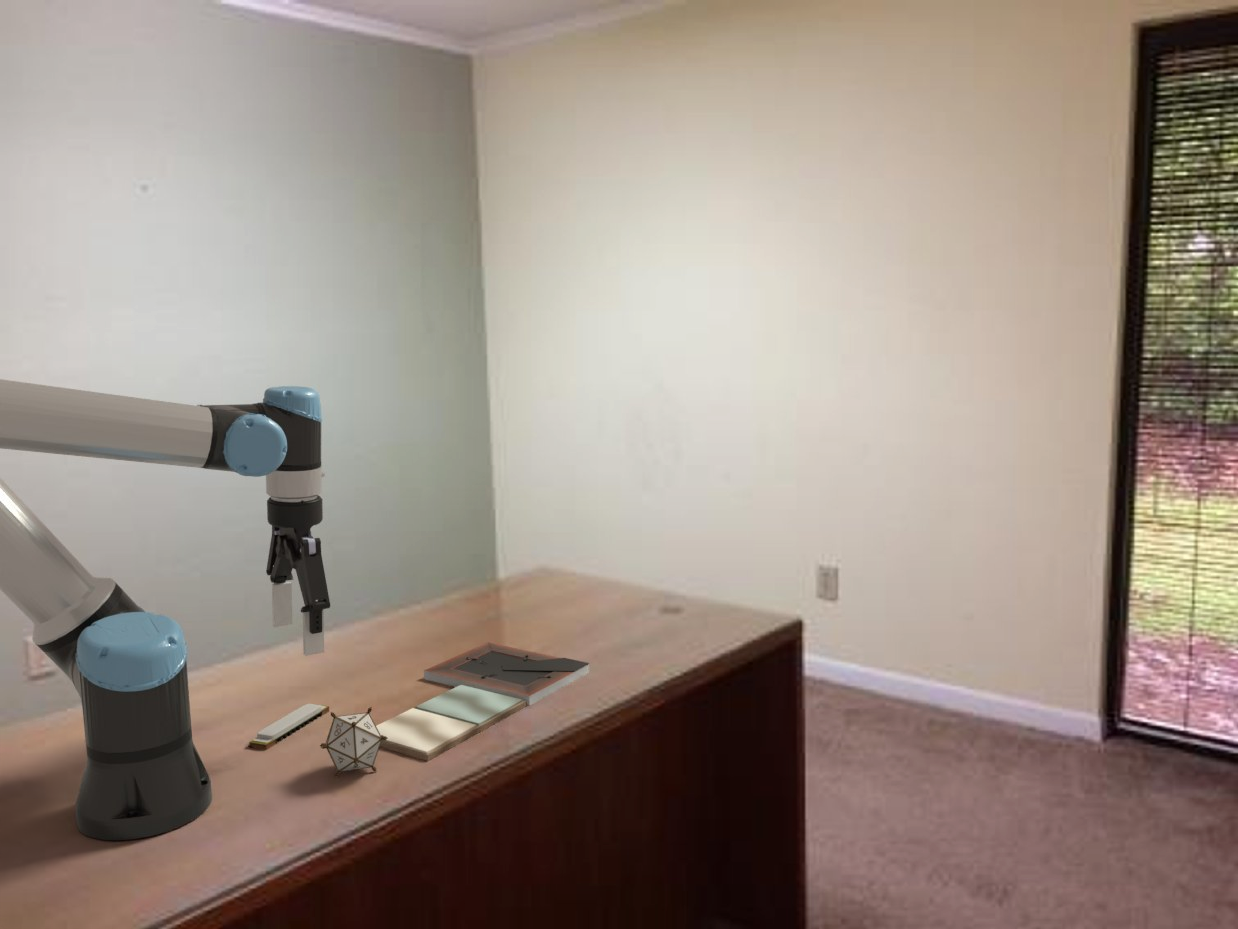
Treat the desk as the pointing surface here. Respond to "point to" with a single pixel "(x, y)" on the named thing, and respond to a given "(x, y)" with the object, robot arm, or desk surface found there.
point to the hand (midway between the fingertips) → (297, 639)
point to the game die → (353, 742)
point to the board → (446, 721)
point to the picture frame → (508, 672)
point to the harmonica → (287, 725)
